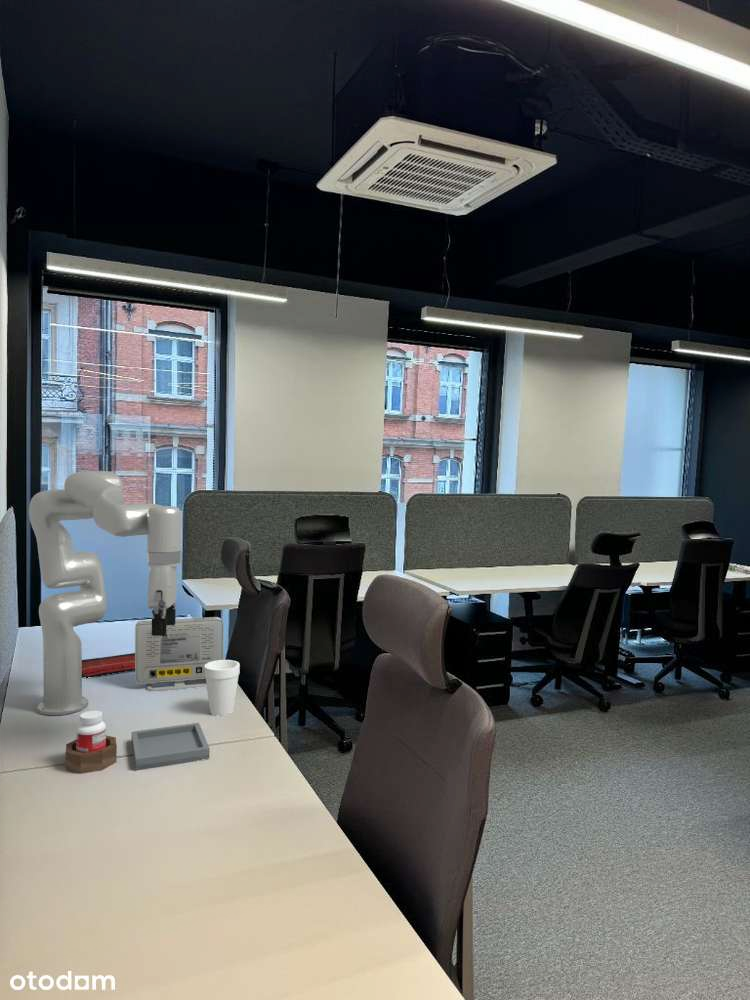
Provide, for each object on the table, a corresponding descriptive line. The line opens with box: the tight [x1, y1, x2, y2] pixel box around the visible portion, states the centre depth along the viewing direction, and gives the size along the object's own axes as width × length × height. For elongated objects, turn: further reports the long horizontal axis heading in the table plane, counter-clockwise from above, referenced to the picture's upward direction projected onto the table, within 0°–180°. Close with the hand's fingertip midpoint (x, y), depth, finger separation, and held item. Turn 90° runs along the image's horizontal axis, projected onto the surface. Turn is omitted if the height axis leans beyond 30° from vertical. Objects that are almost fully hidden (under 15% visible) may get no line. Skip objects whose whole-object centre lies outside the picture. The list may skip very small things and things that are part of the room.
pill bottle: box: [75, 710, 107, 753], centre depth 149 cm, size 6×6×11 cm
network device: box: [134, 616, 224, 692], centre depth 200 cm, size 26×9×20 cm, turn 108°
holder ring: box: [65, 734, 118, 774], centre depth 149 cm, size 10×10×4 cm
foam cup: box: [205, 659, 241, 716], centre depth 180 cm, size 10×9×13 cm
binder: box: [82, 652, 135, 679], centre depth 217 cm, size 16×2×21 cm
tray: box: [130, 722, 211, 771], centre depth 156 cm, size 16×16×2 cm
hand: (164, 630), depth 156 cm, fingers open, 9 cm apart
